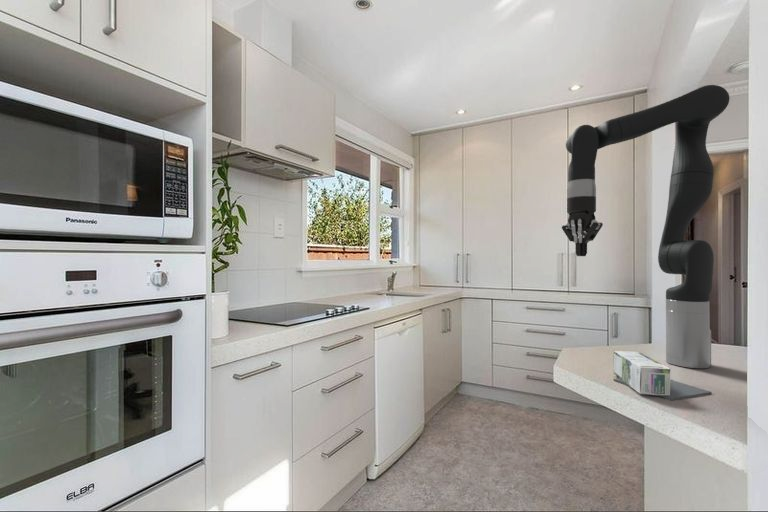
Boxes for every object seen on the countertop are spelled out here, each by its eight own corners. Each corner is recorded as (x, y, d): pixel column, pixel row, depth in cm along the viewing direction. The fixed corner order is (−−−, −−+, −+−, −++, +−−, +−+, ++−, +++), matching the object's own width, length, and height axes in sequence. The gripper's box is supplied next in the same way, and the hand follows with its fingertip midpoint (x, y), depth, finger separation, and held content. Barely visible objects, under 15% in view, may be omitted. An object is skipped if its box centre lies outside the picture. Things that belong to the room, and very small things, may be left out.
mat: (650, 375, 93) (650, 373, 93) (711, 393, 80) (711, 391, 80) (613, 380, 89) (613, 378, 89) (671, 400, 76) (671, 398, 76)
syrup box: (638, 375, 92) (672, 396, 77) (611, 373, 93) (640, 395, 78) (638, 351, 92) (672, 368, 77) (611, 350, 93) (640, 367, 78)
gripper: (611, 194, 106) (611, 256, 106) (573, 200, 119) (573, 256, 118) (590, 192, 104) (590, 256, 103) (554, 199, 116) (553, 256, 116)
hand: (581, 256), depth 111 cm, fingers closed
